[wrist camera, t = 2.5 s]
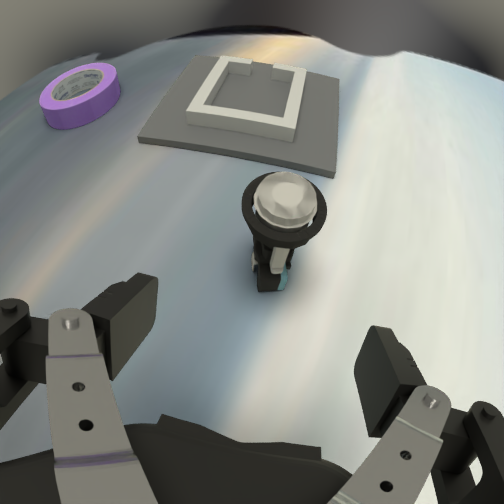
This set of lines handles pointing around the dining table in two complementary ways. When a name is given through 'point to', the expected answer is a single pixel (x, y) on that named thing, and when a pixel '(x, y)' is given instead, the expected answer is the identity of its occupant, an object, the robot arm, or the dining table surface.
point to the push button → (280, 222)
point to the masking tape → (85, 105)
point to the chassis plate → (251, 113)
